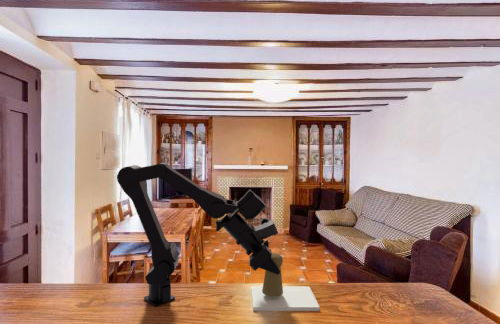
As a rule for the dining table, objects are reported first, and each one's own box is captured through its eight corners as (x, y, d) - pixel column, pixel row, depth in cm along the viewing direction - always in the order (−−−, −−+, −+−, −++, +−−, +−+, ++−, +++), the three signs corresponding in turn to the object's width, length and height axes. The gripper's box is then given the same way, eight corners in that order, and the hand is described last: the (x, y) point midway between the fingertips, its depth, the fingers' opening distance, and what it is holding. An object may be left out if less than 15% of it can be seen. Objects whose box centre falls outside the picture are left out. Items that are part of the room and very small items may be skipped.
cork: (281, 297, 92) (283, 258, 92) (260, 295, 94) (261, 256, 93) (284, 288, 98) (285, 252, 98) (263, 286, 99) (265, 250, 99)
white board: (253, 310, 89) (253, 307, 89) (251, 289, 102) (251, 286, 102) (319, 310, 90) (319, 307, 90) (309, 289, 103) (309, 286, 103)
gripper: (264, 219, 85) (305, 262, 86) (259, 205, 104) (293, 240, 105) (232, 248, 85) (273, 291, 86) (233, 229, 104) (267, 264, 105)
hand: (278, 269), depth 96 cm, fingers closed on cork, 5 cm apart
